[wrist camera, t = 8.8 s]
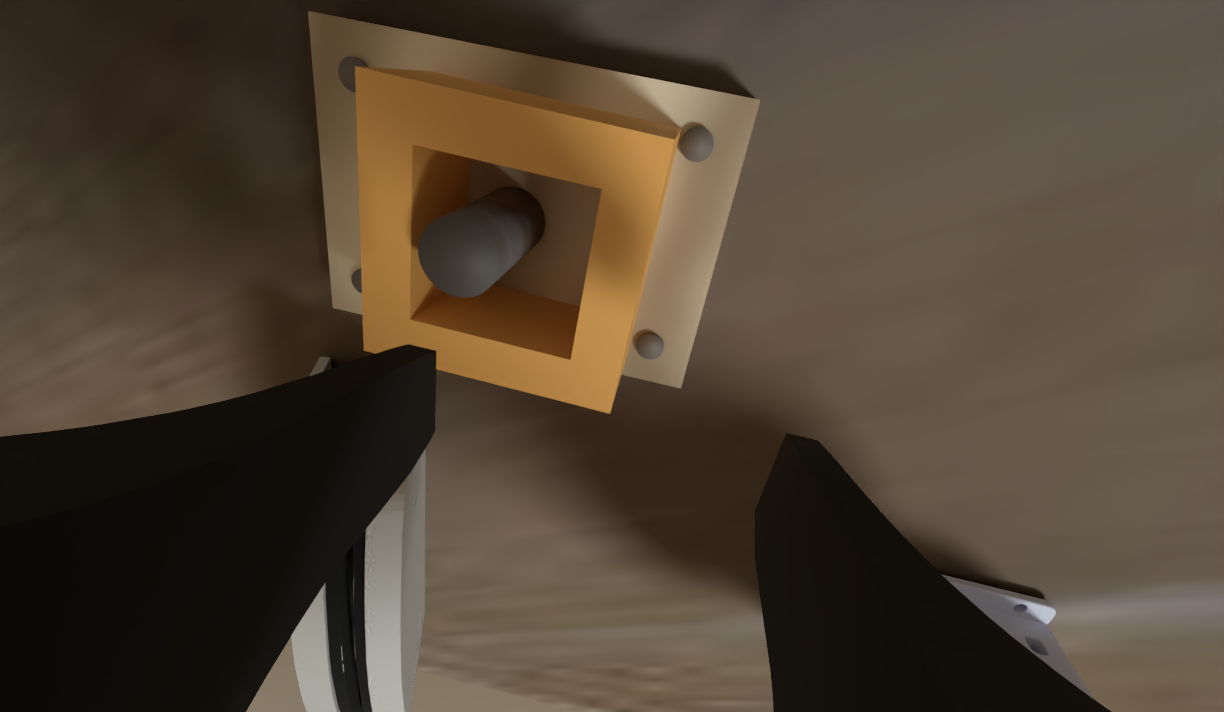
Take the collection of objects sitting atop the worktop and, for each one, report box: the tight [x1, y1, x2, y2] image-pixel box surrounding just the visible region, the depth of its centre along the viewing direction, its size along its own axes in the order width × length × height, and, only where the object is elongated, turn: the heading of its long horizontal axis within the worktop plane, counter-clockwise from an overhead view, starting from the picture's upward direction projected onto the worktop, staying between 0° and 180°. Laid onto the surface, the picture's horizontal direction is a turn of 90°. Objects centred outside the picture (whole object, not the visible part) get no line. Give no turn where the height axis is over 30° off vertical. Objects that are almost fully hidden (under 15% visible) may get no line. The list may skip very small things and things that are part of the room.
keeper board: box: [308, 11, 760, 388], centre depth 17 cm, size 14×10×6 cm
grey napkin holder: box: [291, 357, 425, 712], centre depth 24 cm, size 17×5×10 cm, turn 170°
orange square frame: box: [355, 66, 681, 414], centre depth 16 cm, size 8×8×4 cm
